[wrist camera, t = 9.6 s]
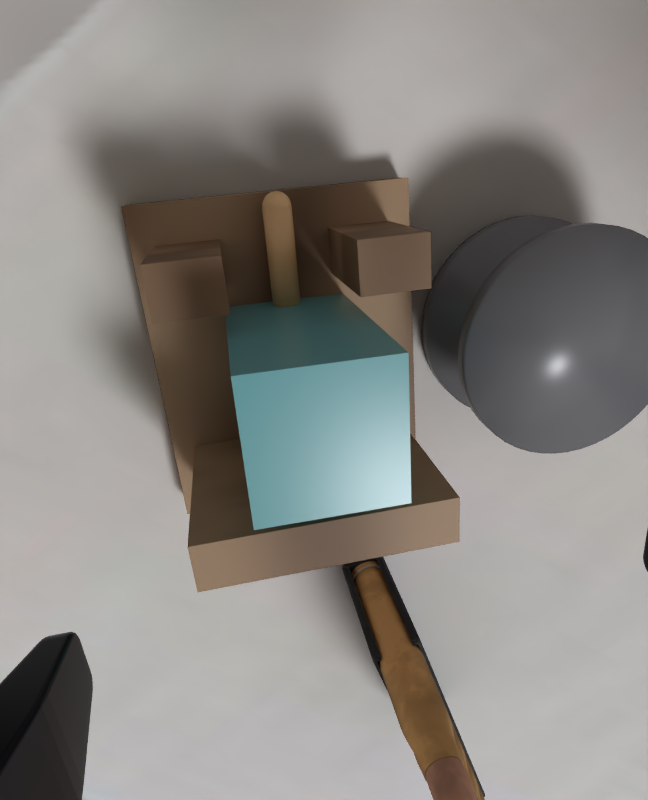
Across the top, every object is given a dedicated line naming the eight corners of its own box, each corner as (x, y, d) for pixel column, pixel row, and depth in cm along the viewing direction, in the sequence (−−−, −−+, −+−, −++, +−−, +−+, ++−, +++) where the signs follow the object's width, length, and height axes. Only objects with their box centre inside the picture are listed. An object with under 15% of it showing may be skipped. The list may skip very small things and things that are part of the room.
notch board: (398, 178, 19) (493, 178, 12) (408, 462, 23) (482, 571, 17) (125, 204, 18) (76, 220, 11) (188, 500, 22) (178, 632, 16)
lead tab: (335, 185, 18) (405, 189, 11) (349, 401, 21) (411, 503, 14) (208, 196, 17) (205, 208, 11) (241, 417, 20) (253, 530, 14)
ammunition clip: (340, 565, 25) (443, 878, 14) (379, 548, 25) (513, 847, 14) (410, 714, 29) (531, 1043, 18) (443, 700, 29) (583, 1018, 18)
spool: (616, 205, 21) (702, 211, 17) (595, 394, 24) (665, 434, 20) (419, 227, 20) (467, 239, 16) (423, 422, 23) (464, 470, 19)
